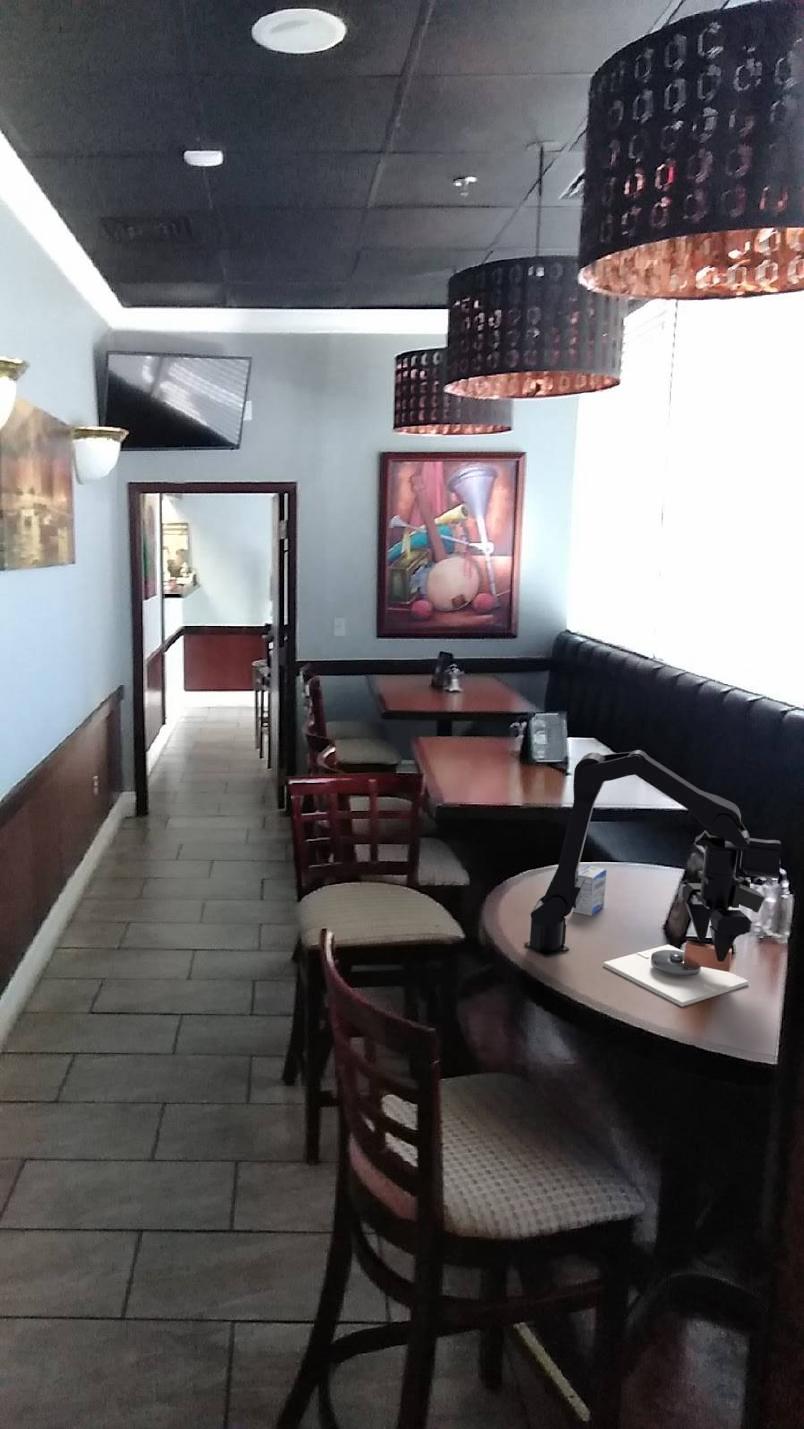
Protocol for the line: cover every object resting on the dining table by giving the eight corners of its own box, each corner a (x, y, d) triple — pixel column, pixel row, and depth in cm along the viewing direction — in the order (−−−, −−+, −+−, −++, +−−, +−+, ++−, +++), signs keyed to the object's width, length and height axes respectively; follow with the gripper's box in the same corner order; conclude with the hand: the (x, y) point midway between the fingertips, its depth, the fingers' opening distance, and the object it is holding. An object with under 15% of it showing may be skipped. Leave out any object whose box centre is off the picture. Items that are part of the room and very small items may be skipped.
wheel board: (682, 1006, 174) (682, 998, 173) (603, 966, 189) (603, 958, 189) (748, 984, 184) (748, 977, 183) (668, 948, 199) (668, 941, 199)
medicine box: (591, 916, 214) (594, 878, 213) (571, 912, 217) (574, 873, 215) (604, 906, 221) (607, 868, 219) (585, 902, 223) (588, 864, 222)
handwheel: (726, 985, 178) (729, 959, 177) (646, 969, 184) (649, 944, 183) (731, 967, 187) (733, 941, 186) (654, 952, 192) (657, 927, 191)
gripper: (784, 888, 175) (774, 972, 177) (740, 855, 193) (732, 932, 196) (722, 887, 174) (714, 971, 176) (684, 854, 192) (677, 931, 195)
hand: (710, 950), depth 186 cm, fingers open, 9 cm apart
